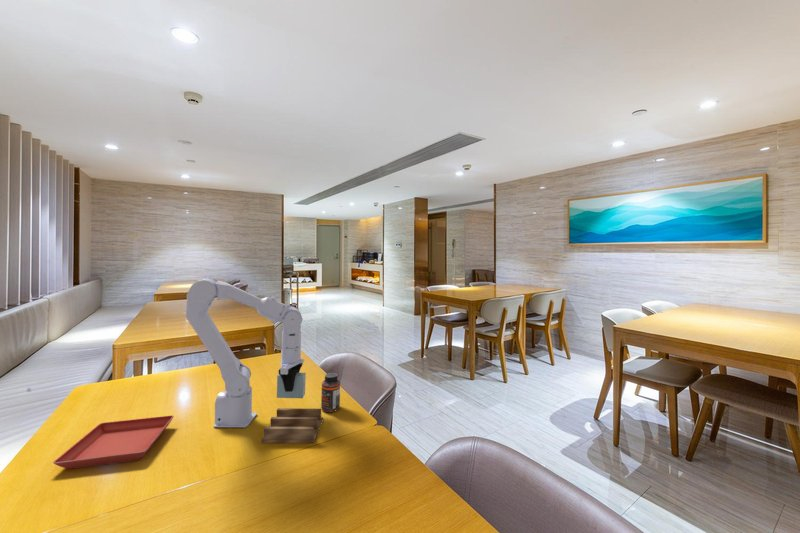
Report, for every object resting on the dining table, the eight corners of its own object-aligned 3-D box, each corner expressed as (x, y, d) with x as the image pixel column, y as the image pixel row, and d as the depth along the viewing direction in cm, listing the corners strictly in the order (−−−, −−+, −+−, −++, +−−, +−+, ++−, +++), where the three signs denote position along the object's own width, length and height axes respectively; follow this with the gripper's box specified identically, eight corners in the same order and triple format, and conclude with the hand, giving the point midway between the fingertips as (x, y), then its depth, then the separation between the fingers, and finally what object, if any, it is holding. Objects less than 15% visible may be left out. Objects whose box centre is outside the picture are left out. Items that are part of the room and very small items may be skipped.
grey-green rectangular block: (276, 397, 103) (277, 375, 102) (279, 393, 106) (280, 372, 105) (302, 398, 103) (303, 376, 103) (305, 394, 106) (305, 372, 106)
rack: (261, 443, 88) (261, 429, 88) (276, 420, 100) (276, 408, 100) (314, 443, 89) (314, 429, 88) (322, 420, 100) (323, 408, 100)
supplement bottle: (317, 410, 107) (317, 375, 106) (329, 403, 112) (329, 370, 112) (331, 414, 104) (332, 379, 103) (343, 407, 109) (344, 373, 109)
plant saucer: (51, 476, 74) (50, 462, 74) (100, 433, 91) (100, 422, 91) (145, 464, 79) (145, 451, 79) (175, 426, 96) (174, 414, 96)
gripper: (297, 353, 96) (297, 399, 97) (309, 340, 111) (308, 380, 112) (273, 353, 96) (272, 398, 97) (288, 339, 111) (287, 379, 111)
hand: (290, 388), depth 104 cm, fingers closed on grey-green rectangular block, 3 cm apart
